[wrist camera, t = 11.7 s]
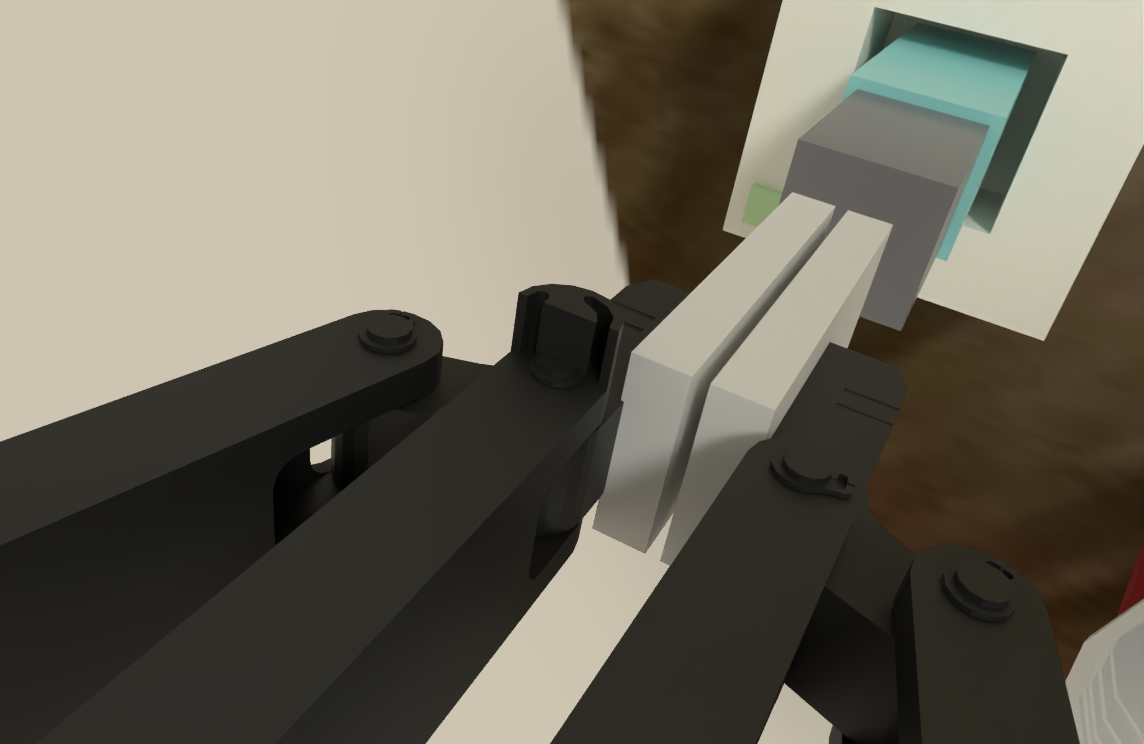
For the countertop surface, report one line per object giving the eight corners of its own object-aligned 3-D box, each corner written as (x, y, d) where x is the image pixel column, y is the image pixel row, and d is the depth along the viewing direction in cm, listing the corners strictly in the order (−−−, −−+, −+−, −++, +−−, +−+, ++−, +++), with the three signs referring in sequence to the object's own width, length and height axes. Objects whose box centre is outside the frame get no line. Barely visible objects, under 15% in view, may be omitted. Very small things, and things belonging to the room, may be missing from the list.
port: (863, -119, 29) (809, -115, 24) (1211, -48, 26) (1232, -27, 21) (776, 180, 34) (719, 233, 30) (1055, 270, 31) (1043, 345, 26)
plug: (918, 22, 28) (789, 122, 17) (1036, 52, 27) (978, 178, 16) (880, 133, 30) (742, 286, 19) (989, 165, 29) (908, 346, 18)
